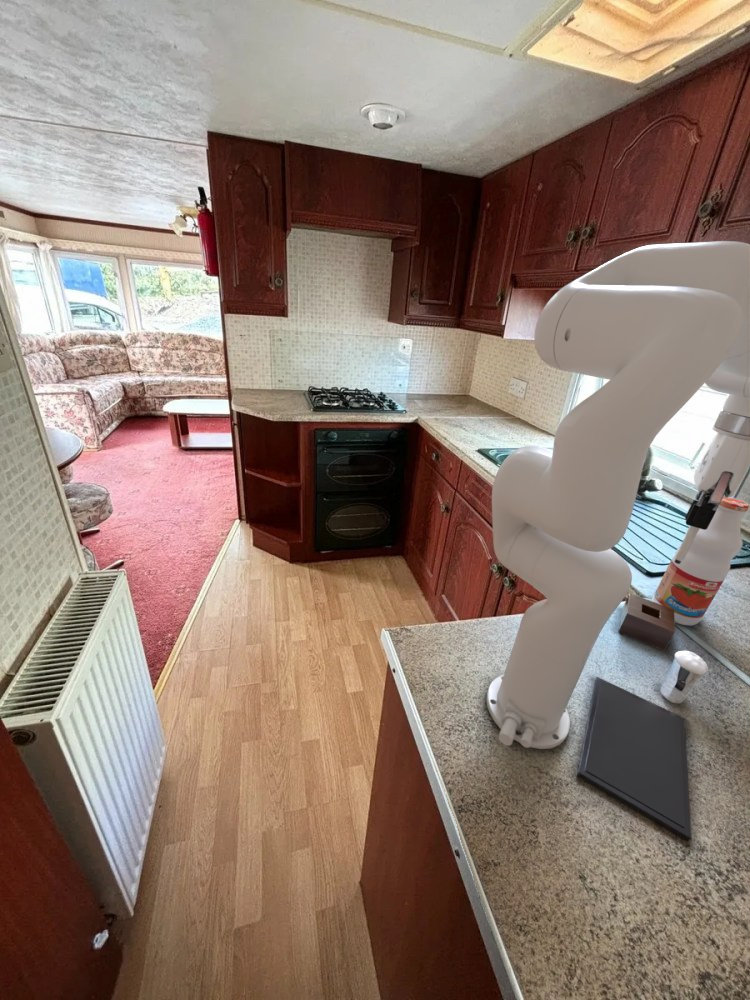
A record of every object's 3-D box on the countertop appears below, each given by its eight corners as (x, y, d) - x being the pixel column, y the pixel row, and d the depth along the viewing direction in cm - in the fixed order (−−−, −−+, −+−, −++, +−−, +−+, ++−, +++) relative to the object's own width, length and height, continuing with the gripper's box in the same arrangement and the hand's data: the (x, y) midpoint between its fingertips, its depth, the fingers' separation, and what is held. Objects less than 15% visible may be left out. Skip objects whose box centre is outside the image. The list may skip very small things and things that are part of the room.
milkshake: (677, 714, 66) (704, 671, 62) (649, 686, 71) (673, 644, 67) (697, 709, 68) (725, 666, 63) (669, 682, 72) (693, 641, 68)
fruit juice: (684, 601, 95) (742, 494, 83) (708, 630, 86) (778, 515, 74) (642, 595, 95) (694, 487, 83) (662, 622, 87) (723, 507, 75)
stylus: (681, 565, 76) (715, 499, 70) (672, 562, 77) (705, 496, 71) (681, 562, 77) (714, 496, 71) (672, 559, 78) (705, 494, 72)
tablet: (688, 842, 50) (691, 837, 49) (576, 776, 56) (578, 771, 55) (682, 722, 65) (685, 717, 65) (595, 680, 71) (597, 675, 71)
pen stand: (664, 651, 79) (675, 632, 77) (618, 632, 83) (627, 613, 81) (664, 627, 86) (674, 609, 83) (621, 610, 89) (629, 592, 87)
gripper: (711, 413, 73) (670, 503, 81) (721, 429, 61) (671, 533, 69) (764, 422, 70) (716, 516, 78) (785, 441, 58) (725, 550, 66)
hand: (695, 523), depth 73 cm, fingers closed on stylus, 1 cm apart
